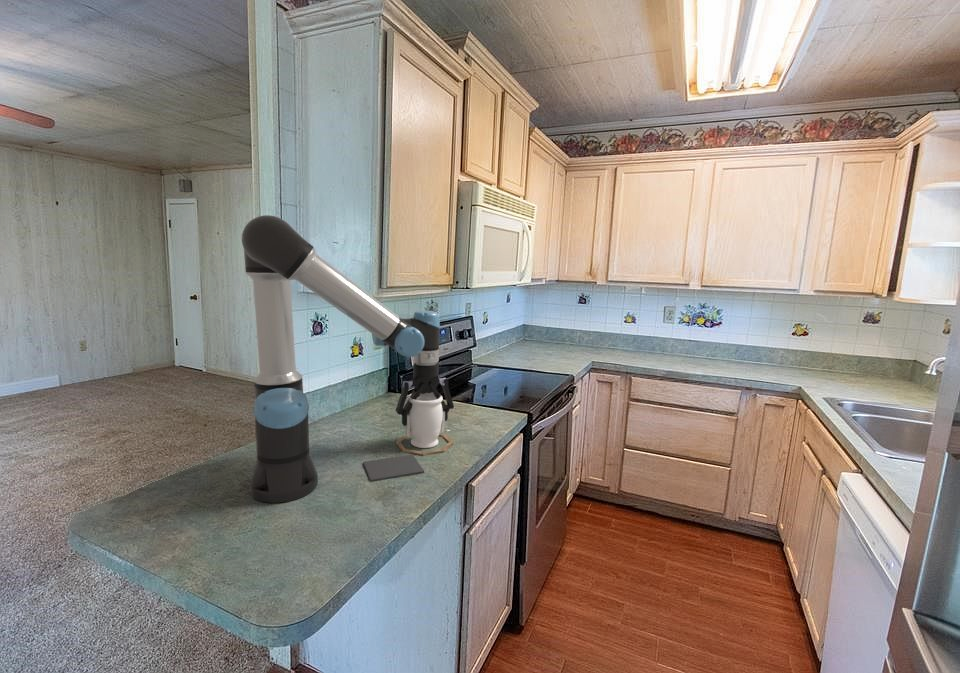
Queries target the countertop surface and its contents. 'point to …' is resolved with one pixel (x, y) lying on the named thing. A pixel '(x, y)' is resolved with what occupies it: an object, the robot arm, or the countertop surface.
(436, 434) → the jar
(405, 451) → the cork ring
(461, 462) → the countertop surface
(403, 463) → the mat
